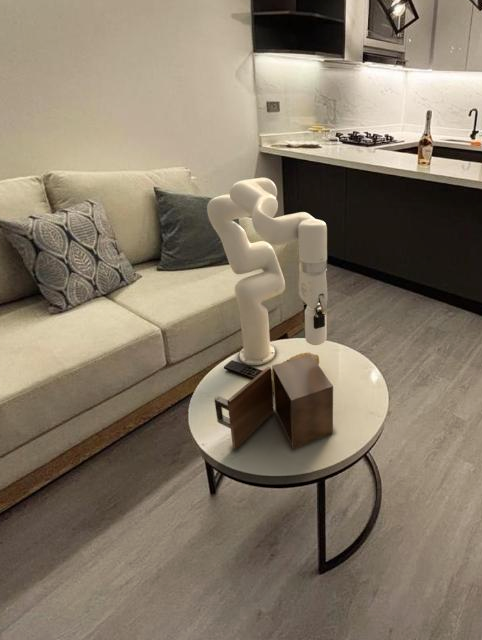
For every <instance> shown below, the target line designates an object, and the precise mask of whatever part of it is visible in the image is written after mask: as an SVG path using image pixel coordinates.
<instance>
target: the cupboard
mask: <svg viewBox="0 0 482 640" xmlns="http://www.w3.org/2000/svg"><path fill="white" fill-rule="evenodd" d="M272 369H273V385H274V392H273V402H274V412H275V414H276V416H277V418H278V420H279V422H280V424H281V426H282V429H283V431H284V433H285V435H286V436H287V439H288V441H289V443H290V445H291V447H292V450H294V449H296V448H299V447H301V446H304V445H307V444H308V443H309V444H310V443H311V442H313V441H316V440H319V439H321V438H324V437H327V436H329V435H331V434H333V433H334V385H333V384H332V382H331V381H330V380H329V378H328V377H327V375H326V374H325V372H324V371H323V370H322V368H321V367H320V364H319V365H318V364H317V363H316V361H315V360H314V358H313V357H312V356H311V355H307V356H304V357H300V358H297V359H293V360H290V361H287V362H284V361H282V362H280V363H276V364H273V365H272V367H271V370H272Z"/></svg>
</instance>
